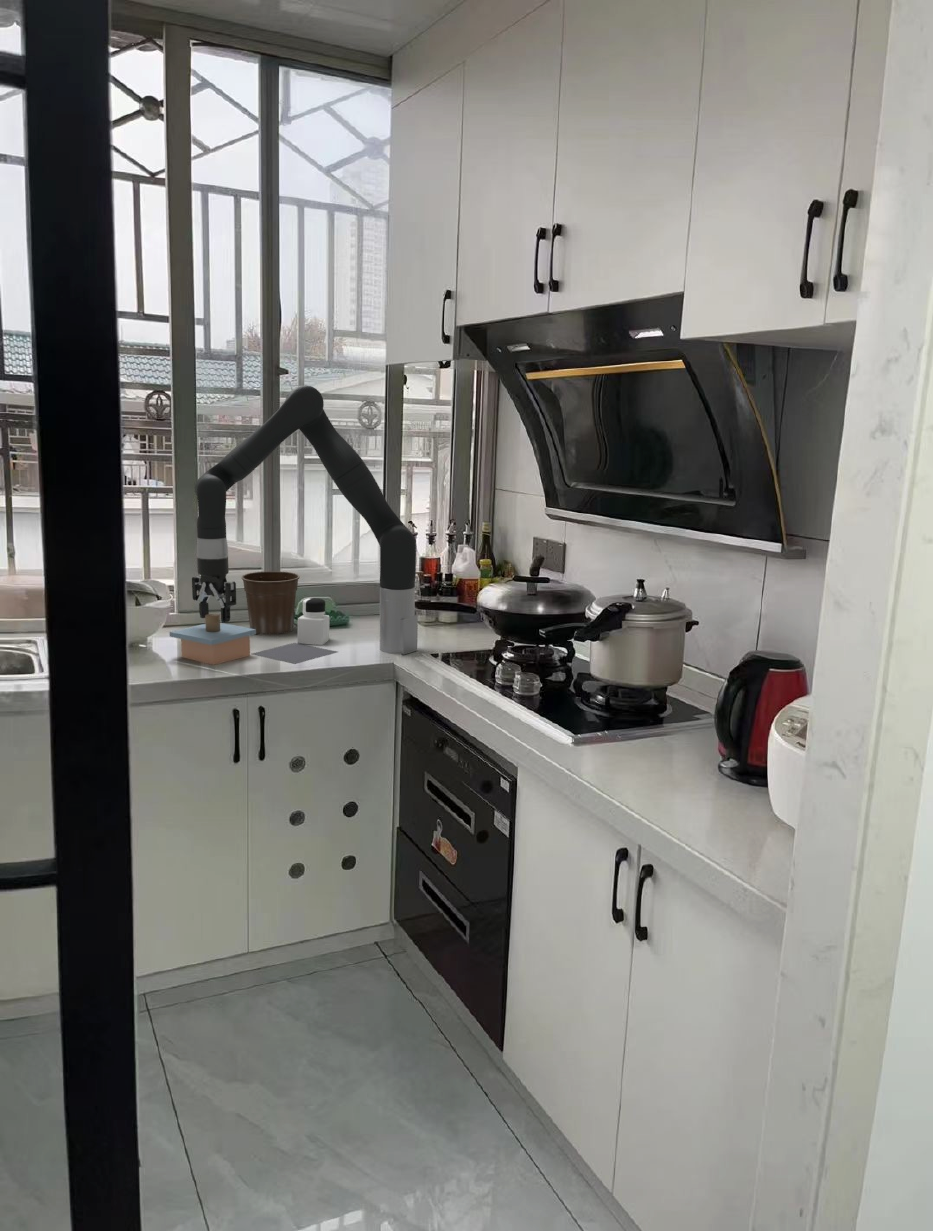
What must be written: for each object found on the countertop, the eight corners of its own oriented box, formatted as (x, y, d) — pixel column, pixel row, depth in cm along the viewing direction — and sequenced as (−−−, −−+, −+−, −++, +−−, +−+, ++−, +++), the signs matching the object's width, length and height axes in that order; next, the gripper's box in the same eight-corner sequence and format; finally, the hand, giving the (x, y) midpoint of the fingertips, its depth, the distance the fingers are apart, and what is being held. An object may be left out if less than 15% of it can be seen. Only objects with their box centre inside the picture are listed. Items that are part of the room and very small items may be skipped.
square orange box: (250, 656, 249) (249, 633, 248) (213, 666, 239) (212, 642, 238) (218, 649, 255) (217, 627, 254) (181, 658, 246) (180, 635, 245)
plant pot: (295, 638, 270) (294, 581, 266) (237, 637, 270) (235, 580, 266) (304, 625, 285) (303, 571, 282) (250, 624, 285) (248, 570, 282)
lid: (256, 633, 248) (255, 614, 247) (211, 645, 235) (211, 624, 234) (214, 626, 256) (213, 606, 254) (169, 636, 243) (168, 616, 242)
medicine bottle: (329, 640, 268) (330, 597, 266) (322, 645, 261) (323, 601, 259) (304, 638, 268) (304, 596, 266) (296, 643, 261) (297, 600, 259)
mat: (338, 653, 254) (338, 651, 254) (295, 665, 241) (294, 663, 241) (294, 644, 263) (294, 642, 263) (250, 655, 250) (250, 653, 250)
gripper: (243, 556, 241) (245, 621, 244) (205, 551, 249) (207, 613, 252) (220, 560, 235) (222, 626, 238) (181, 554, 243) (184, 618, 246)
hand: (214, 619), depth 245 cm, fingers open, 7 cm apart
